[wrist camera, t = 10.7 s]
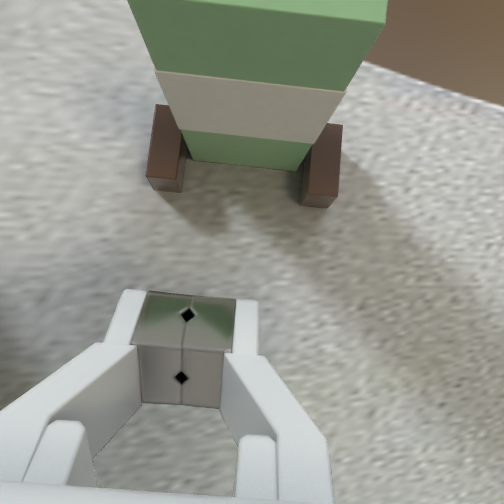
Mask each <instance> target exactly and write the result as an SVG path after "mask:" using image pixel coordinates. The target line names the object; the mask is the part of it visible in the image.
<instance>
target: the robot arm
mask: <svg viewBox="0 0 504 504" xmlns="http://www.w3.org/2000/svg"><path fill="white" fill-rule="evenodd" d="M259 304H260V303H259V301H258V300H251V299H233V298H220V297H207V296H194V295H184V294H175V293H166V292H156V291H143V290H134V289H125V290H124V292H123V293H122V295H121V297H120V300H119V302H118V305H117V307H116V310H115V313H114V315H113V318H112V320H111V323H110V325H109V328H108V331H107V333H106V336H105V338H104V341H103V343H100V342H96V343H94V344H93V345H91V346H90V347H89V348H87V349H86V350H84V351H83V352H82V353H80V354H79V355H77V356H76V357H75V358H73V359H72V360H70V361H69V362H68V363H66V364H65V365H64V366H62V367H61V368H59V369H58V370H57V371H55V372H54V373H52V374H51V375H50V376H48V377H47V378H45V379H44V380H43V381H41V382H40V383H38V384H37V385H36V386H34V387H33V388H32V389H30V390H29V391H27V392H26V393H25V394H23V395H22V396H20V397H19V398H18V399H16V400H15V401H13V402H12V403H11V404H9V405H8V406H6V407H5V408H4V409H2V410H1V411H0V504H335V498H334V489H333V481H332V472H331V463H330V455H329V446H328V439H327V437H326V436H325V435H324V433H323V432H322V431H321V429H320V428H319V427H318V425H317V424H316V423H315V422H314V420H313V419H312V418H311V416H310V415H309V414H308V412H307V411H306V410H305V408H304V407H303V406H302V404H301V403H300V402H299V400H298V399H297V398H296V396H295V395H294V394H293V392H292V391H291V390H290V388H289V387H288V386H287V384H286V383H285V382H284V380H283V379H282V378H281V376H280V375H279V374H278V372H277V371H276V370H275V368H274V367H273V366H272V364H271V363H270V362H269V360H268V359H267V358H266V357H265V356H259ZM142 403H153V404H172V405H186V406H196V407H205V408H215V409H220V413H221V415H222V417H223V419H224V421H225V423H226V425H227V427H228V429H229V431H230V433H231V435H232V437H233V439H234V441H235V443H236V445H237V447H238V455H237V462H236V469H235V476H234V483H233V491H232V497H224V496H210V495H196V494H182V493H168V492H154V491H140V490H126V489H112V488H98V485H97V480H96V476H95V471H94V466H93V461H92V459H93V458H94V457H95V456H96V455H97V454H98V453H99V452H100V451H101V449H102V448H103V447H104V446H105V445H106V444H107V443H108V442H109V441H110V440H111V439H112V438H113V436H114V435H115V434H116V433H117V432H118V431H119V430H120V429H121V428H122V427H123V426H124V424H125V423H126V422H127V421H128V420H129V419H130V418H131V417H132V416H133V415H134V414H135V412H136V411H137V410H138V409H139V408H140V407H141V406H142Z"/></svg>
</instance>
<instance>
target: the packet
mask: <svg viewBox="0 0 504 504" xmlns="http://www.w3.org/2000/svg"><path fill="white" fill-rule="evenodd" d="M127 1H128V3H129V5H130V8H131V10H132V13H133V15H134V18H135V20H136V22H137V25H138V27H139V30H140V32H141V35H142V37H143V39H144V42H145V44H146V47H147V49H148V52H149V54H150V56H151V59H152V61H153V64H154V66H155V68H154V71H155V74H156V76H157V78H158V81H159V83H160V85H161V88H162V90H163V93H164V95H165V97H166V100H167V102H168V104H169V107H170V109H171V111H172V114H173V116H174V119H175V121H176V123H177V126H178V128H179V129H181V132H182V134H183V137H184V139H185V142H186V144H187V146H188V149H189V151H190V154H191V156H192V159H193V160H196V161H206V162H215V163H224V164H233V165H242V166H252V167H261V168H270V169H279V170H289V171H296V170H297V169H298V167H299V165H300V164H301V162H302V160H303V159H304V157H305V156H306V154H307V152H308V151H309V149H310V147H311V146H312V144H314V143H315V142H316V140H317V138H318V137H319V135H320V134H321V132H322V130H323V129H324V127H325V125H326V124H327V122H328V121H329V119H330V117H331V116H332V114H333V113H334V111H335V109H336V108H337V106H338V104H339V103H340V101H341V100H342V98H343V96H344V95H345V93H346V88H347V86H348V85H349V83H350V81H351V80H352V78H353V76H354V75H355V73H356V71H357V70H358V68H359V67H360V65H361V63H362V62H363V60H364V58H365V56H366V55H367V53H368V52H369V50H370V48H371V47H372V45H373V43H374V42H375V40H376V38H377V37H378V35H379V34H380V32H381V30H382V29H383V27H384V25H385V24H386V14H387V3H388V0H127Z"/></svg>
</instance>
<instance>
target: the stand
mask: <svg viewBox="0 0 504 504" xmlns="http://www.w3.org/2000/svg"><path fill="white" fill-rule="evenodd" d="M342 129H343V125H339V124H330V123H327V124H326V125H325V127H324V129H323V130H322V132H321V134H320V135H319V137H318V138H317V140H316V142H315V143H314V144H312V146H311V147H310V149H309V151H308V152H307V154H306V156H305V157H304V168H303V180H302V192H301V204H300V205H301V206H310V207H320V208H328V207H329V206H330V205H331V204H332V203H333V201H334V200H335V199H336V198H337V197H338V185H339V171H340V157H341V143H342ZM186 153H187V144H186V142H185V139H184V137H183V134H182V132H181V129H179V128H178V126H177V123H176V121H175V119H174V116H173V114H172V111H171V109H170V107H169V106H167V105H159V104H156V105H155V112H154V119H153V126H152V134H151V141H150V148H149V155H148V163H147V170H146V177H147V179H148V181H149V182H150V184H151V186H152V187H153V189H154V190H161V191H170V192H179V193H181V192H182V185H183V177H184V169H185V161H186Z"/></svg>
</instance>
